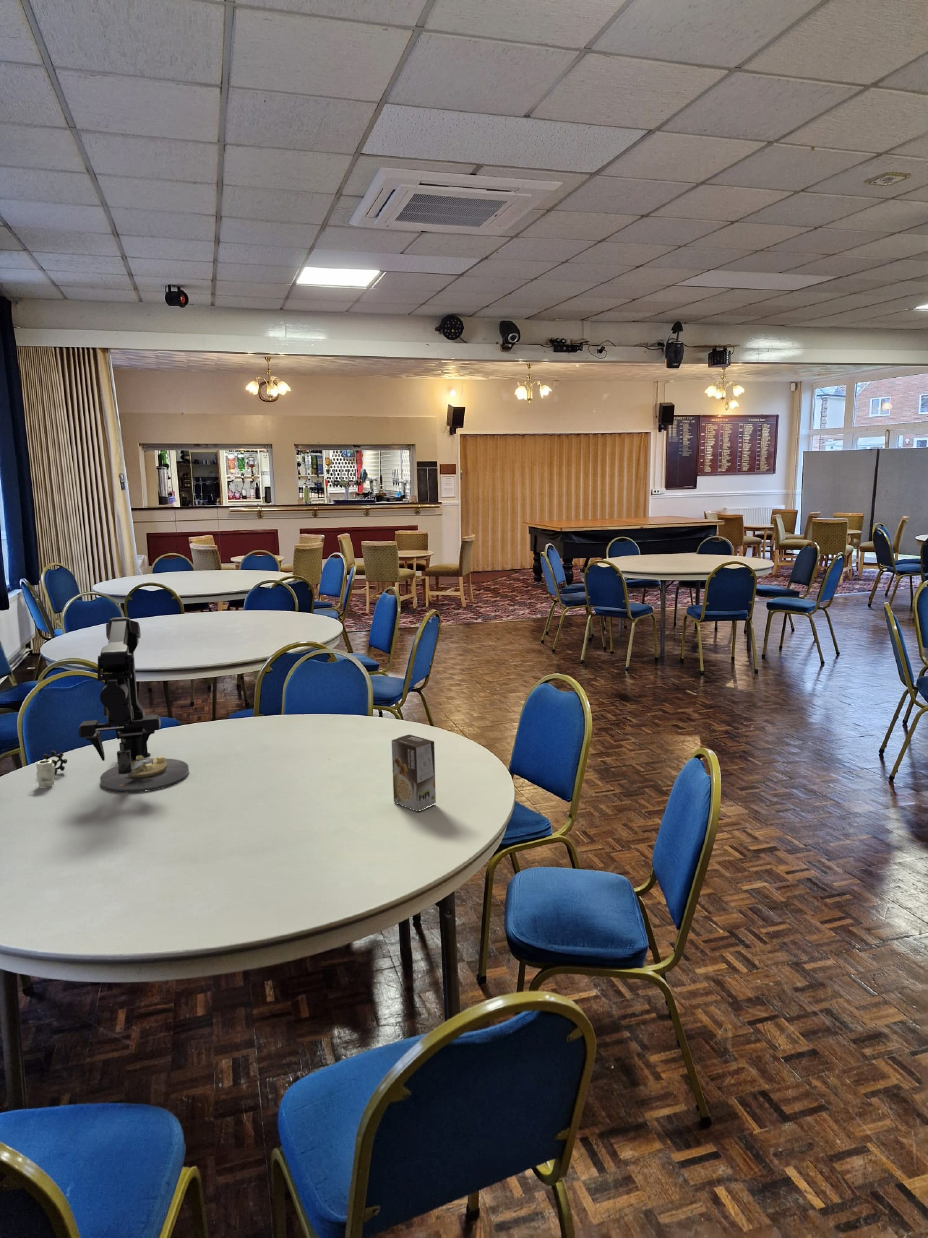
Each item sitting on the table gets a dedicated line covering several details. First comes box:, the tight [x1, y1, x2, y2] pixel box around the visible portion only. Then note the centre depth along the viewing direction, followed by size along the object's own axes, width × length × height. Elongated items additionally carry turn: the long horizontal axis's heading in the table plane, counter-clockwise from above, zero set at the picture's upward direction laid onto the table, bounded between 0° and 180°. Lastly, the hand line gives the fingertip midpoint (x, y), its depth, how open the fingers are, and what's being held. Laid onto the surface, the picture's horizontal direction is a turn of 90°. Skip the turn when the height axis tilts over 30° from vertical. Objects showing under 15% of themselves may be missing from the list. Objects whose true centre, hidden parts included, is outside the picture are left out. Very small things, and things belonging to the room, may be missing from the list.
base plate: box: [99, 758, 190, 793], centre depth 210 cm, size 22×22×2 cm
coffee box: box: [391, 734, 437, 811], centre depth 188 cm, size 9×6×16 cm
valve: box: [36, 750, 68, 788], centre depth 208 cm, size 7×7×12 cm
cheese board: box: [116, 749, 167, 778], centre depth 207 cm, size 11×16×8 cm
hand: (123, 758), depth 200 cm, fingers open, 9 cm apart
